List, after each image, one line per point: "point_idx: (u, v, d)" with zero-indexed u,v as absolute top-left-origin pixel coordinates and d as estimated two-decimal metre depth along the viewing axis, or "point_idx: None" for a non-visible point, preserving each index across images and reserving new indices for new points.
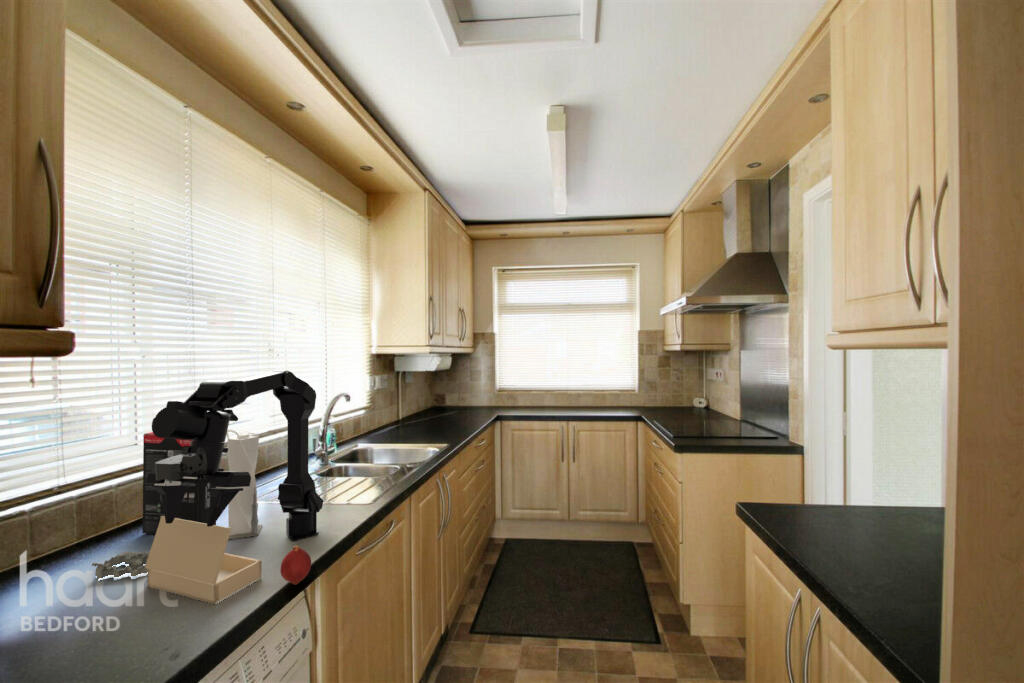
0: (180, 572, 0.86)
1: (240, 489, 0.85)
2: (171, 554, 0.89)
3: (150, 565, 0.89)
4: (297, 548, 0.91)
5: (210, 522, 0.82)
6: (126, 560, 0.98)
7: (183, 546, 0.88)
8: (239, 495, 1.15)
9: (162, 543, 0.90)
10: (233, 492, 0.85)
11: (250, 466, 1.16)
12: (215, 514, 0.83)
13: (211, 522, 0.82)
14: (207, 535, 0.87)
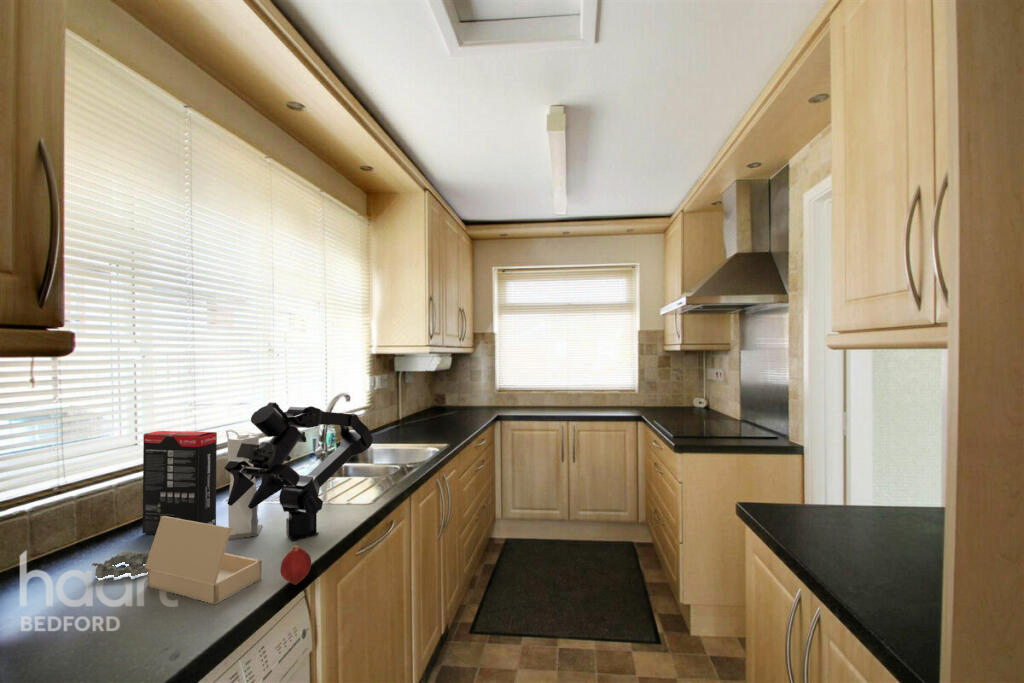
0: (180, 572, 0.86)
1: (283, 485, 1.02)
2: (171, 554, 0.89)
3: (150, 565, 0.89)
4: (297, 548, 0.91)
5: (251, 504, 0.98)
6: (126, 560, 0.98)
7: (183, 546, 0.88)
8: None
9: (162, 543, 0.90)
10: (277, 487, 1.03)
11: None
12: (257, 499, 0.99)
13: (252, 504, 0.98)
14: (207, 535, 0.87)
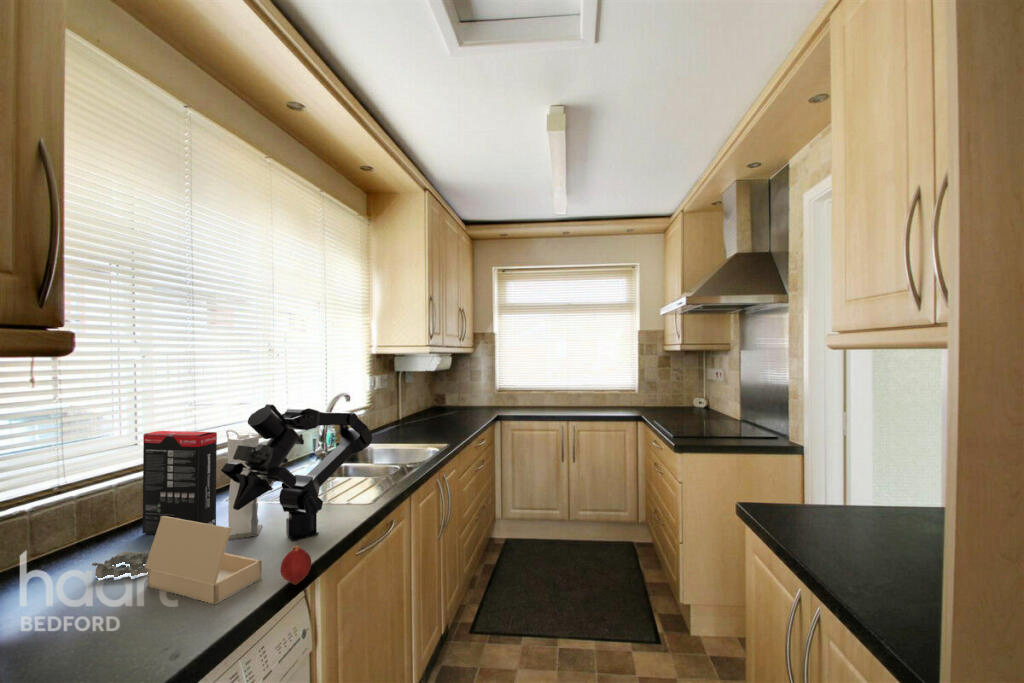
0: (180, 572, 0.86)
1: (270, 487, 1.03)
2: (171, 554, 0.89)
3: (150, 565, 0.89)
4: (297, 548, 0.91)
5: (237, 506, 0.98)
6: (126, 560, 0.98)
7: (183, 546, 0.88)
8: None
9: (162, 543, 0.90)
10: (264, 489, 1.03)
11: None
12: (244, 500, 0.99)
13: (238, 505, 0.98)
14: (207, 535, 0.87)
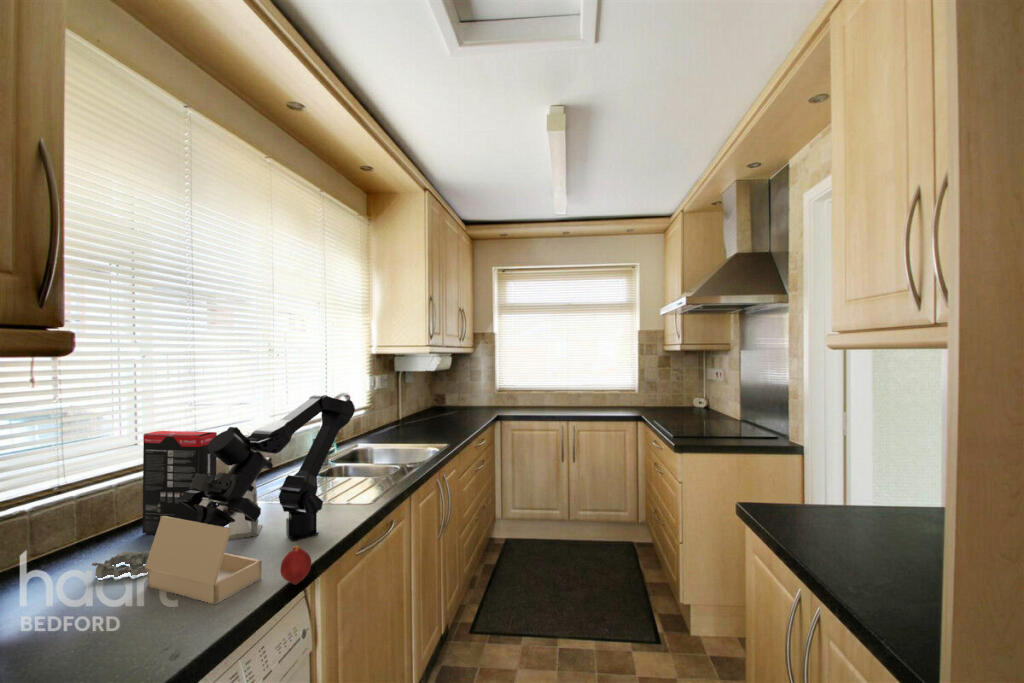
0: (180, 572, 0.86)
1: (232, 519, 0.94)
2: (171, 554, 0.89)
3: (150, 565, 0.89)
4: (297, 548, 0.91)
5: None
6: (126, 560, 0.98)
7: (183, 546, 0.88)
8: None
9: (162, 543, 0.90)
10: (225, 521, 0.94)
11: None
12: None
13: None
14: (207, 535, 0.87)
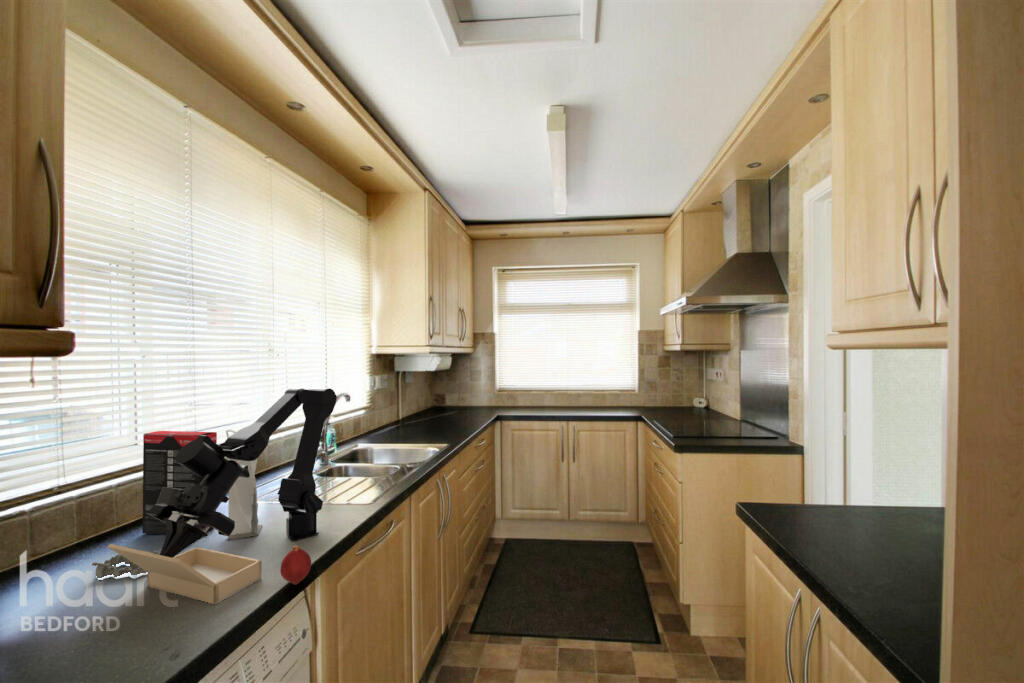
0: (177, 577, 0.86)
1: (204, 533, 0.88)
2: (154, 567, 0.86)
3: (147, 570, 0.89)
4: (297, 548, 0.91)
5: None
6: (126, 560, 0.98)
7: (156, 565, 0.84)
8: (239, 495, 1.15)
9: (136, 561, 0.86)
10: (197, 536, 0.88)
11: (250, 466, 1.16)
12: (171, 551, 0.84)
13: None
14: (165, 563, 0.80)
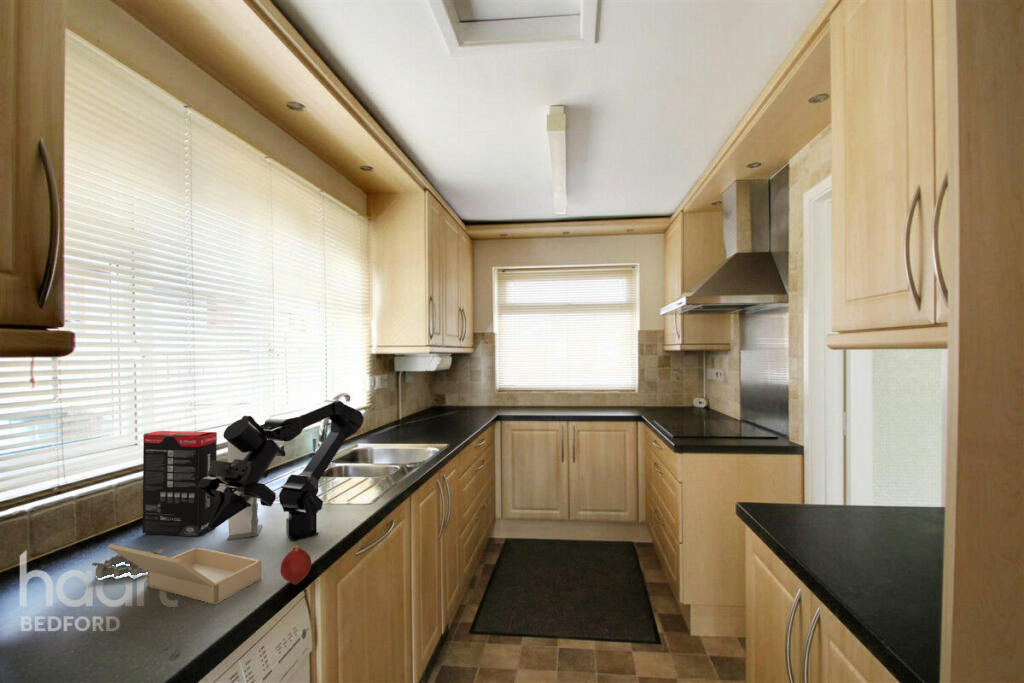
0: (177, 577, 0.86)
1: (248, 503, 0.97)
2: (154, 567, 0.86)
3: (147, 570, 0.89)
4: (297, 548, 0.91)
5: (213, 524, 0.93)
6: (126, 560, 0.98)
7: (156, 565, 0.84)
8: None
9: (136, 561, 0.86)
10: (242, 506, 0.97)
11: None
12: (220, 518, 0.94)
13: (214, 524, 0.93)
14: (165, 563, 0.80)
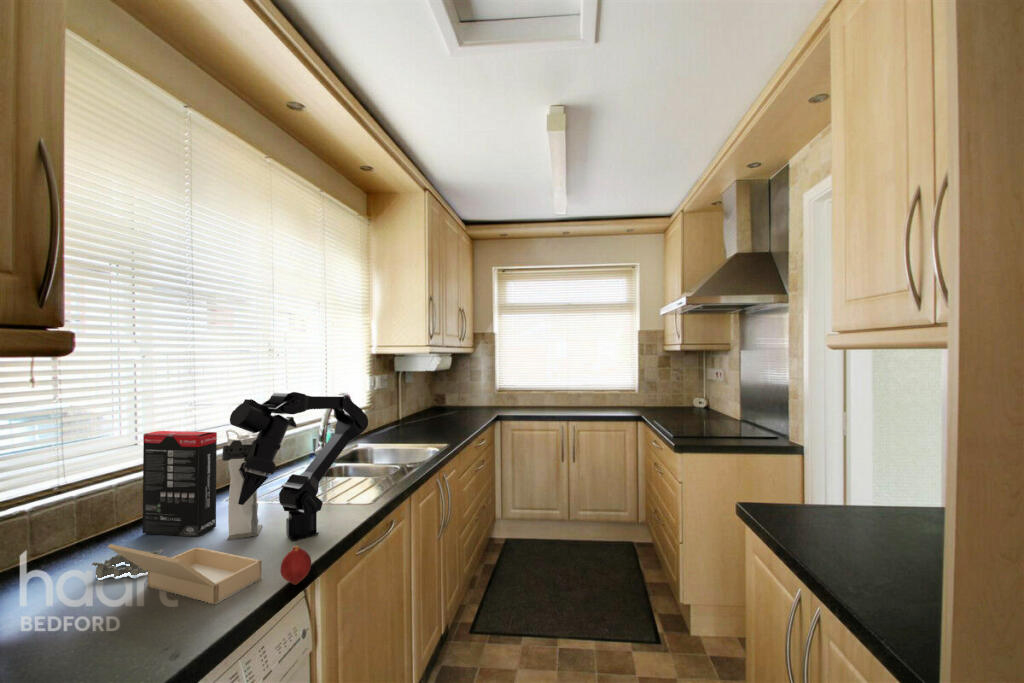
0: (177, 577, 0.86)
1: (263, 476, 1.02)
2: (154, 567, 0.86)
3: (147, 570, 0.89)
4: (297, 548, 0.91)
5: (240, 501, 1.01)
6: (126, 560, 0.99)
7: (156, 565, 0.84)
8: (239, 495, 1.15)
9: (136, 561, 0.86)
10: (261, 479, 1.02)
11: None
12: (244, 494, 1.01)
13: (240, 501, 1.00)
14: (165, 563, 0.80)
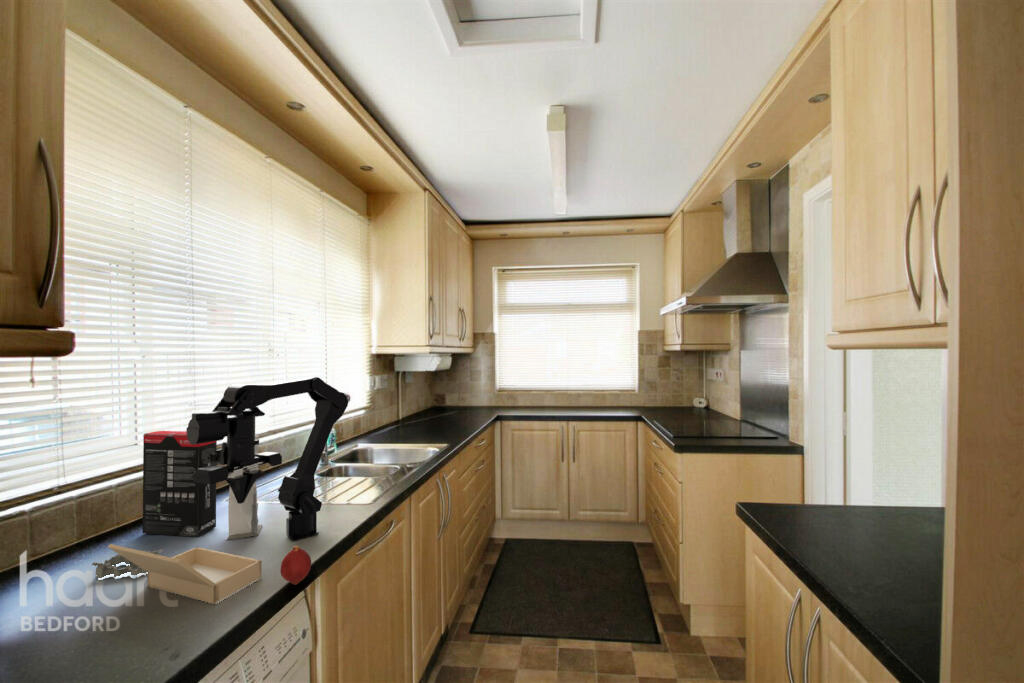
0: (177, 577, 0.86)
1: (232, 479, 0.99)
2: (154, 567, 0.86)
3: (147, 570, 0.89)
4: (297, 548, 0.91)
5: (238, 500, 1.02)
6: (126, 559, 0.99)
7: (156, 565, 0.84)
8: None
9: (136, 561, 0.86)
10: (238, 480, 1.00)
11: None
12: (236, 495, 1.02)
13: (237, 500, 1.02)
14: (165, 563, 0.80)
